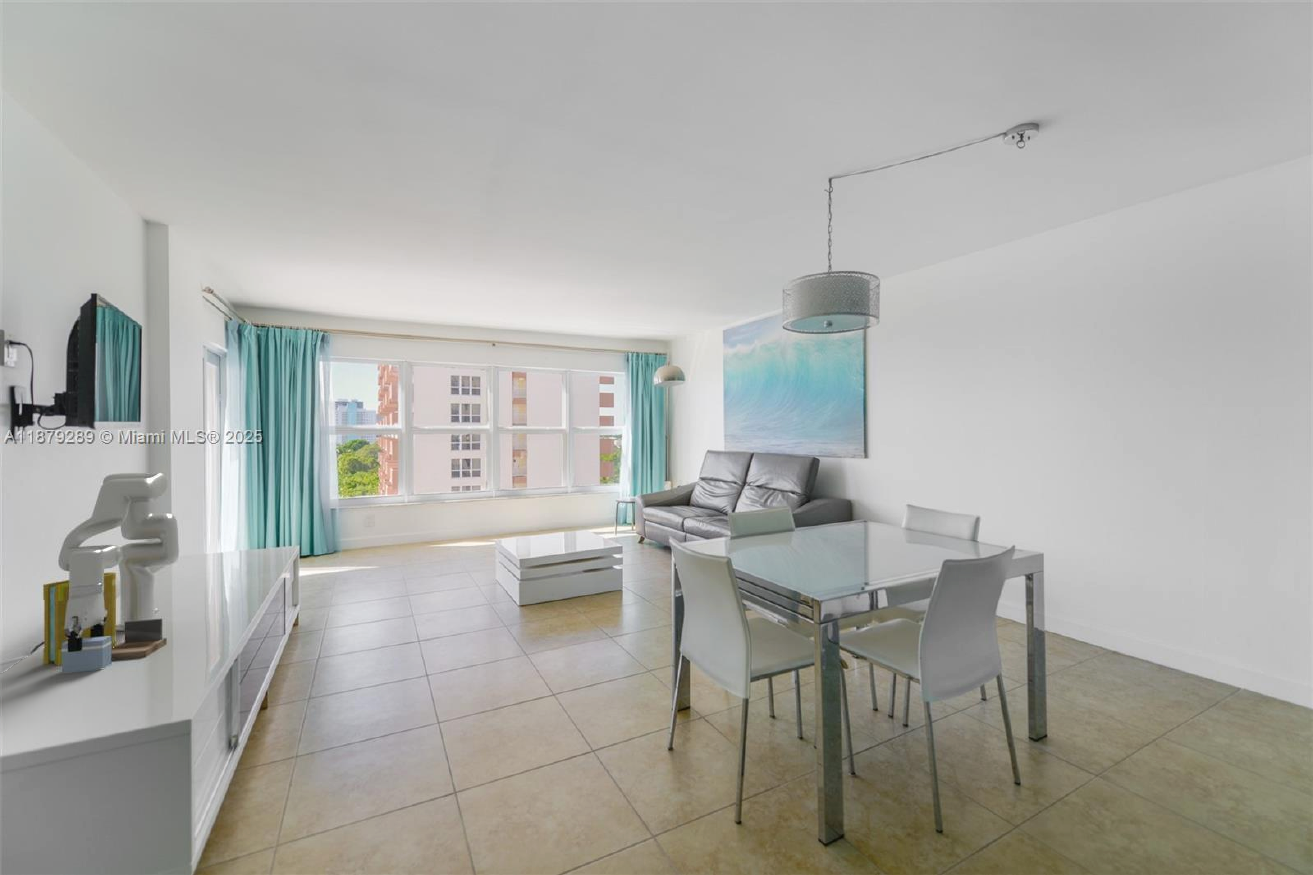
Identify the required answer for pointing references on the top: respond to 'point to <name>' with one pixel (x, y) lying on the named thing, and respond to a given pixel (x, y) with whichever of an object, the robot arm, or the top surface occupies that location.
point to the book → (56, 612)
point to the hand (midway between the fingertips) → (86, 645)
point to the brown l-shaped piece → (140, 639)
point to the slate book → (87, 655)
